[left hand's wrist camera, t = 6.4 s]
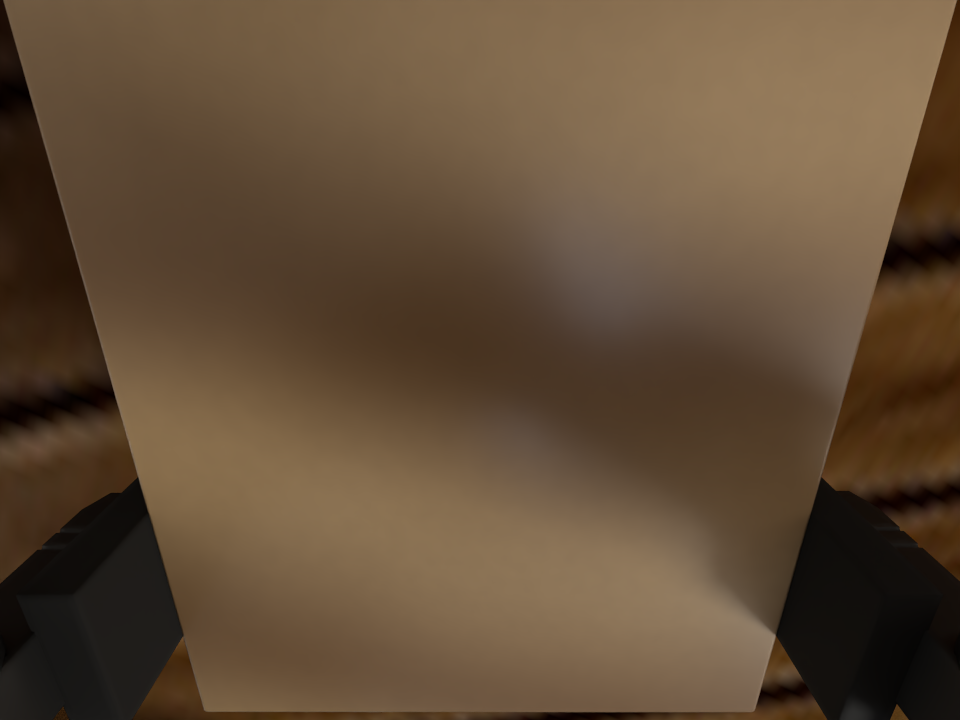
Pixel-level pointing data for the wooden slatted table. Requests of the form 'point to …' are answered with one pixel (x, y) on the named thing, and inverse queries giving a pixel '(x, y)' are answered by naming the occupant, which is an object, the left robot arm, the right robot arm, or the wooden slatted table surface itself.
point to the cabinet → (479, 324)
